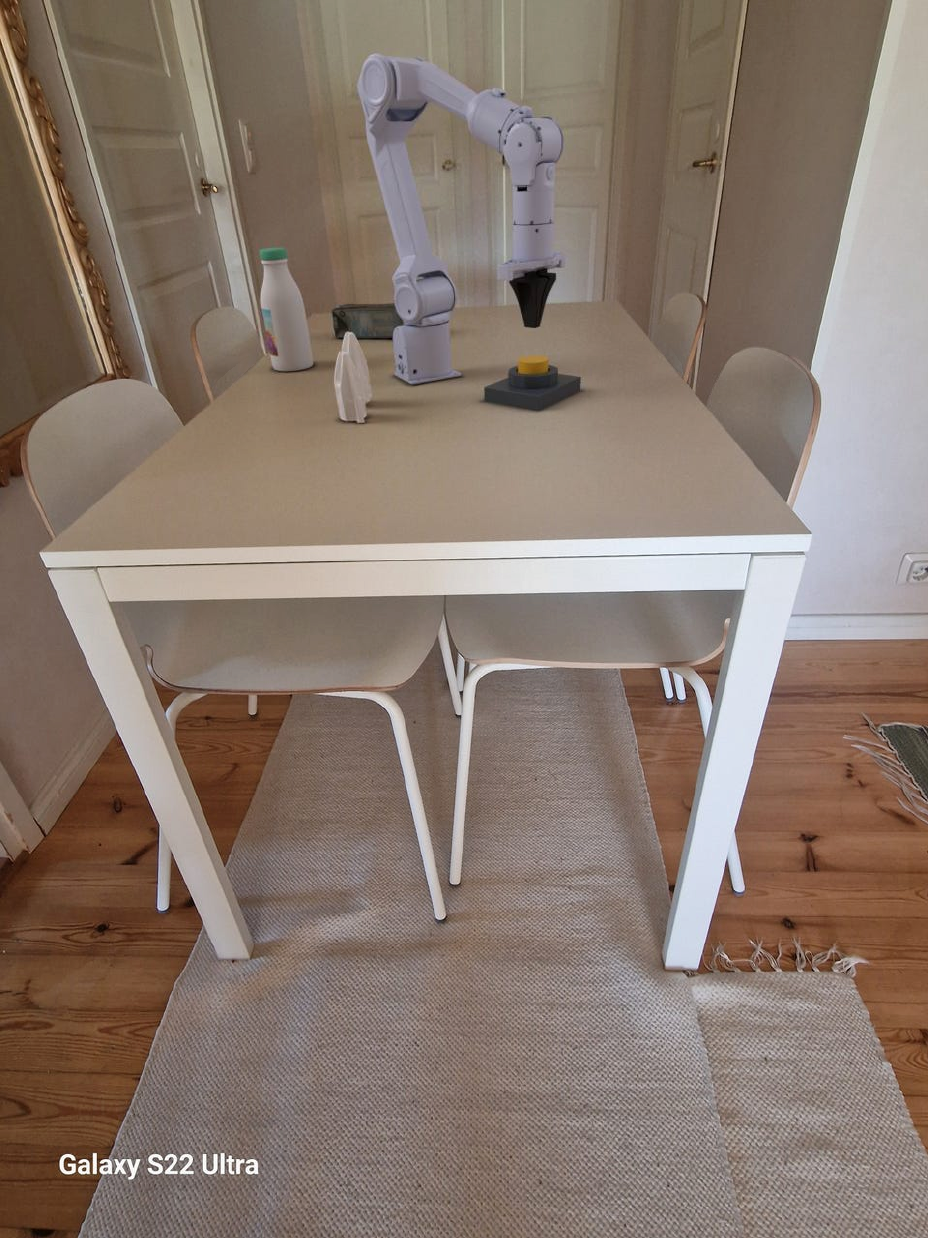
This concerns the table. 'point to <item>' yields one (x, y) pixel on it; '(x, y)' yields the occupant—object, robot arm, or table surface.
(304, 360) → the milk bottle
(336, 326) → the beverage carton
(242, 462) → the table surface
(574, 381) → the grey button base
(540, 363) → the button
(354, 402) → the white pointed piece
